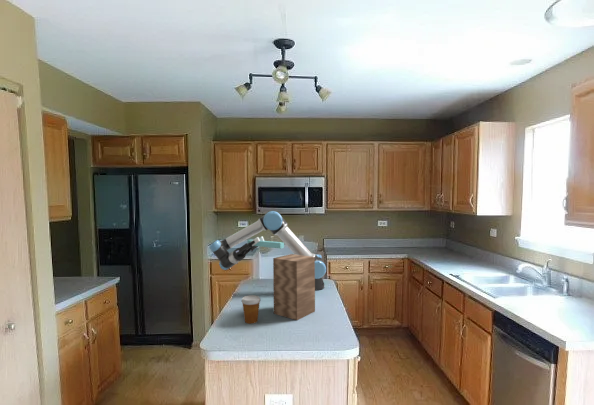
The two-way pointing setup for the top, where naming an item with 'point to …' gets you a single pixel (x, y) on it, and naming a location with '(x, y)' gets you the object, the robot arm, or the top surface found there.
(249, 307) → the disposable coffee cup
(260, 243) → the bar
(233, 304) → the top surface
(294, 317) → the stand
